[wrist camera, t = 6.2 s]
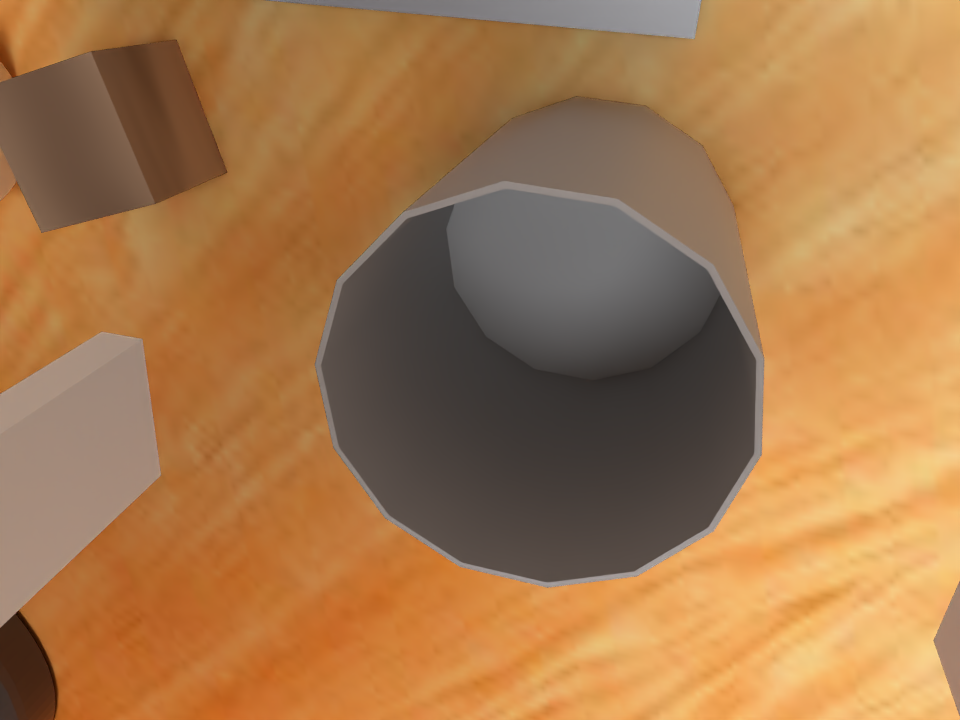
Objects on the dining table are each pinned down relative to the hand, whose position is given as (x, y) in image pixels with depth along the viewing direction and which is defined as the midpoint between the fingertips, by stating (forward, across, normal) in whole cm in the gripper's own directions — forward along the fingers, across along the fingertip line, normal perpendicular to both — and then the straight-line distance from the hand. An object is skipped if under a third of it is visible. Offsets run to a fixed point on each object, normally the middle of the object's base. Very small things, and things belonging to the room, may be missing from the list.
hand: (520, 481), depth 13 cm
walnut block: (+12, -14, +2) cm, 19 cm away
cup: (+13, 0, 0) cm, 13 cm away
